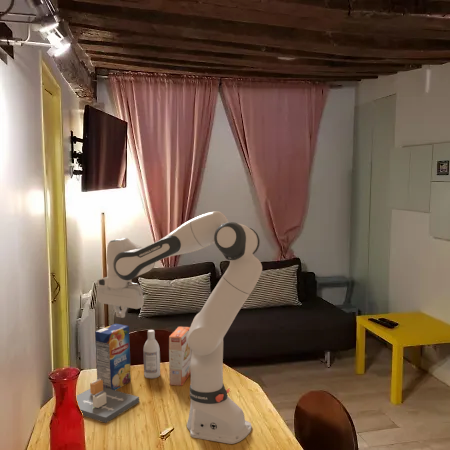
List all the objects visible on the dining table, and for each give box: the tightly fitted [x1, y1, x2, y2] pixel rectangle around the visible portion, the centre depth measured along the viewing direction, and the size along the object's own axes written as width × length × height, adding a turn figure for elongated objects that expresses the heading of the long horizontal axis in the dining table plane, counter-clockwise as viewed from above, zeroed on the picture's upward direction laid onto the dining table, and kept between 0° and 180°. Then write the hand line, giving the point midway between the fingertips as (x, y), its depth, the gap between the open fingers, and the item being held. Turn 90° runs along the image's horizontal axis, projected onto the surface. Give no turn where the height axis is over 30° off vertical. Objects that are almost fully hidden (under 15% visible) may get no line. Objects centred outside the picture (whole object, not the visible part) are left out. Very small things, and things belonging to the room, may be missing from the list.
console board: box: [76, 387, 140, 424], centre depth 184 cm, size 22×18×2 cm
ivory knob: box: [93, 390, 107, 408], centre depth 179 cm, size 2×4×5 cm, turn 150°
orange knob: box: [89, 378, 103, 394], centre depth 190 cm, size 2×4×5 cm, turn 150°
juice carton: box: [94, 323, 132, 391], centre depth 200 cm, size 12×8×24 cm, turn 150°
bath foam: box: [142, 329, 161, 379], centre depth 210 cm, size 7×7×20 cm
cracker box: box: [168, 326, 192, 387], centre depth 206 cm, size 14×6×21 cm, turn 168°
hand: (120, 317), depth 184 cm, fingers closed
